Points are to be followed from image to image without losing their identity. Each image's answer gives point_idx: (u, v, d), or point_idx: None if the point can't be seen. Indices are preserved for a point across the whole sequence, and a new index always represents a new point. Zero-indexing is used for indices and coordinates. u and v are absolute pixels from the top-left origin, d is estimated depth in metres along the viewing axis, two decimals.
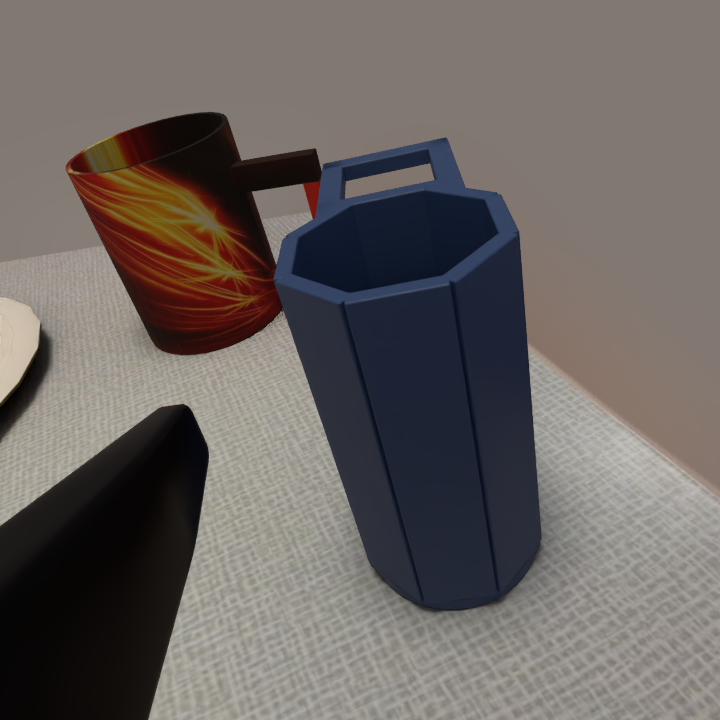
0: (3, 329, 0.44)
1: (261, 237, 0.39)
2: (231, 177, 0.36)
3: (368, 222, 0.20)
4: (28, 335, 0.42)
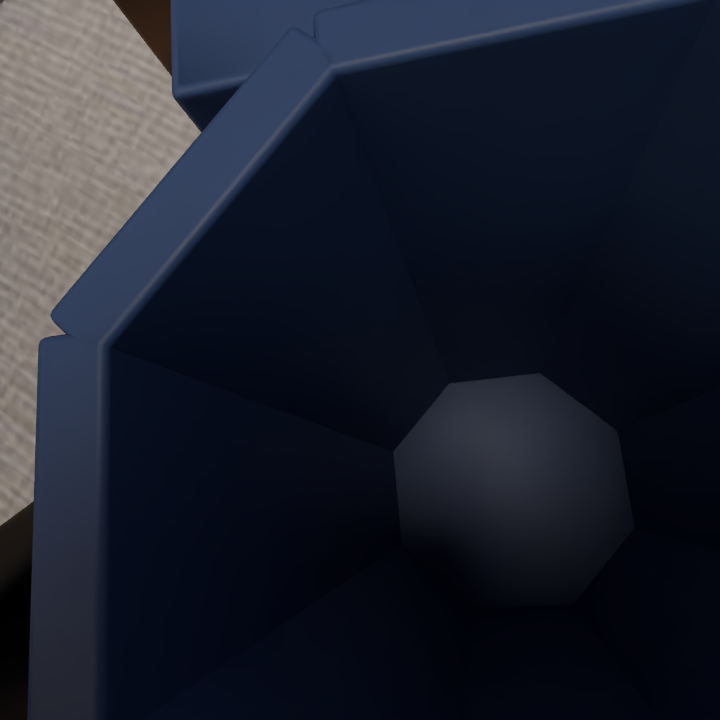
0: None
1: None
2: None
3: (408, 120, 0.05)
4: None
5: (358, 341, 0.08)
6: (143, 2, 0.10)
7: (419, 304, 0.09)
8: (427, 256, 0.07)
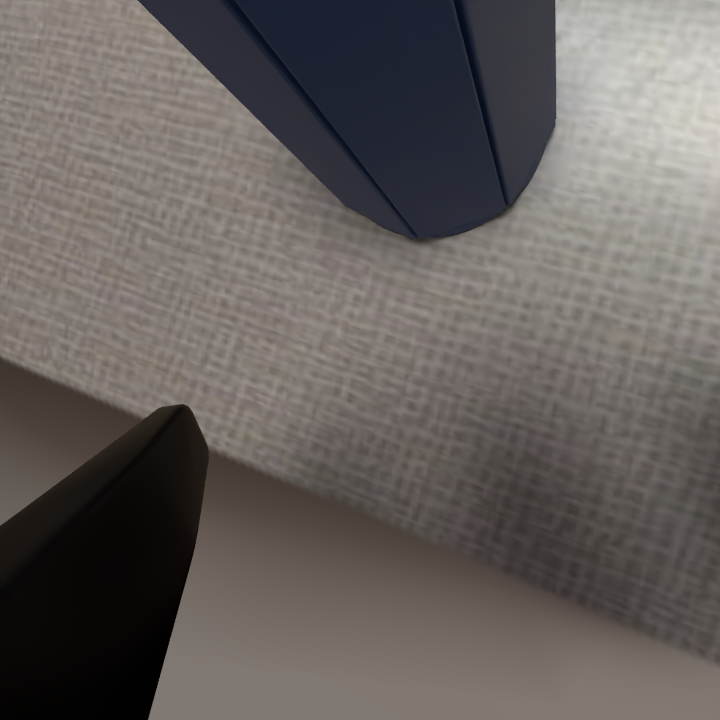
0: None
1: None
2: None
3: None
4: None
5: None
6: None
7: None
8: None
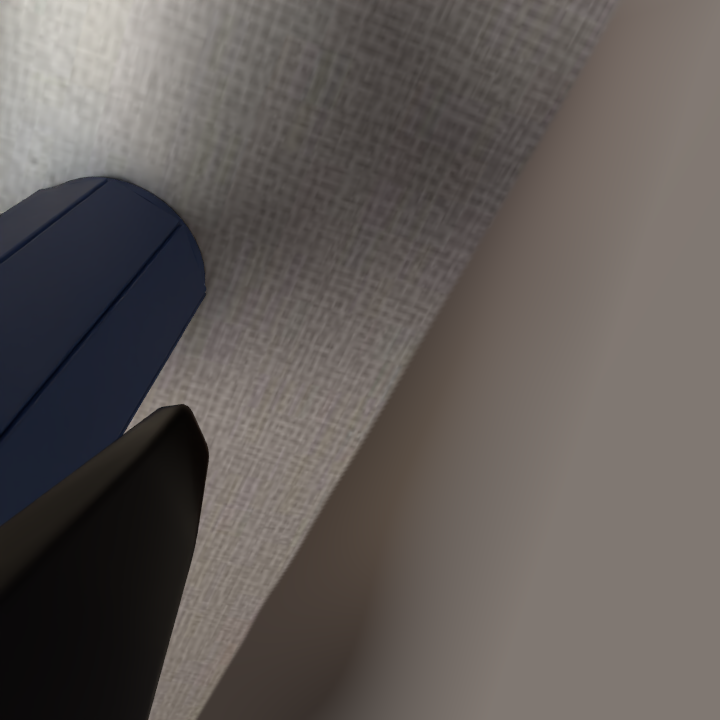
0: None
1: None
2: None
3: None
4: None
5: None
6: None
7: None
8: None
